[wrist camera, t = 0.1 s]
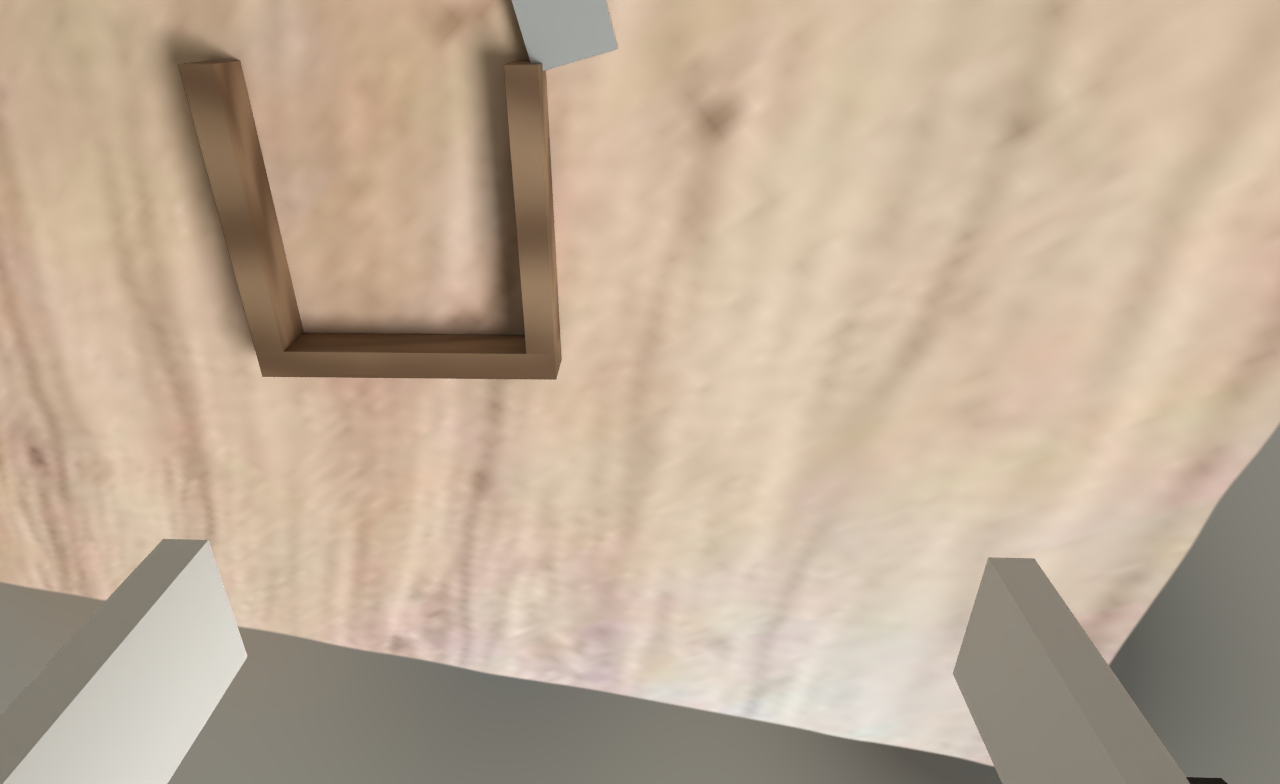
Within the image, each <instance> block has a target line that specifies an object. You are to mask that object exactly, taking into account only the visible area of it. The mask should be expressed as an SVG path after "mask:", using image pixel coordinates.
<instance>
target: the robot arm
mask: <svg viewBox="0 0 1280 784" xmlns="http://www.w3.org/2000/svg"><path fill="white" fill-rule="evenodd" d="M246 658H247V654H246V651H245V648H244V645H243V642H242V639H241V636H240V633H239V630H238V627H237V624H236V621H235V618H234V615H233V612H232V609H231V606H230V603H229V600H228V597H227V594H226V591H225V588H224V585H223V582H222V579H221V576H220V573H219V571H218V568H217V565H216V562H215V559H214V556H213V553H212V550H211V547H210V544H209V541H208V540H181V539H163V540H162V541H161V542H160V543H159V544H158V545H157V546H156V547H155V549H154V550H153V551H152V552H151V553H150V554H149V555H148V556H147V557H146V558H145V559H144V560H143V561H142V562H141V564H140V565H139V566H138V567H137V568H136V569H135V570H134V571H133V572H132V573H131V574H130V575H129V576H128V578H127V579H126V580H125V581H124V582H123V583H122V584H121V585H120V586H119V587H118V588H117V589H116V590H115V592H114V593H113V594H112V595H111V596H110V597H109V598H108V599H107V600H106V601H105V602H104V604H103V605H101V607H100V608H99V609H98V610H97V611H96V612H95V613H94V614H93V615H92V616H91V617H90V618H89V620H88V621H87V622H86V623H85V624H84V625H83V626H82V627H81V628H80V629H79V630H78V631H77V633H75V635H74V636H73V637H72V638H71V639H70V640H69V641H68V642H67V643H66V644H65V645H64V646H63V648H61V650H60V651H59V652H58V653H57V654H56V655H55V656H54V657H53V658H52V659H51V660H50V662H48V664H47V665H46V666H45V667H44V668H43V669H42V670H41V671H40V672H39V673H38V674H37V676H35V678H34V679H33V680H32V681H31V682H30V683H29V684H28V685H27V686H26V687H25V688H24V689H23V690H22V692H21V693H20V694H19V695H18V696H17V697H16V698H15V699H14V700H13V701H12V702H11V704H9V705H8V707H7V708H6V709H5V710H4V711H3V712H2V713H1V714H0V784H167V783H168V782H169V780H170V778H171V777H172V775H173V774H174V772H175V771H176V769H177V767H178V766H179V764H180V762H181V761H182V759H183V758H184V756H185V754H186V753H187V751H188V750H189V748H190V747H191V745H192V744H193V742H194V740H195V739H196V737H197V735H198V734H199V732H200V731H201V729H202V728H203V726H204V725H205V723H206V721H207V719H208V718H209V717H210V715H211V713H212V712H213V710H214V709H215V707H216V706H217V703H218V702H219V701H220V699H221V697H222V696H223V694H224V693H225V691H226V690H227V688H228V686H229V685H230V683H231V682H232V680H233V679H234V677H235V675H236V674H237V672H238V671H239V669H240V668H241V666H242V664H243V663H244V661H245V660H246ZM953 675H954V677H955V679H956V681H957V684H958V686H959V688H960V690H961V693H962V695H963V697H964V699H965V702H966V704H967V706H968V708H969V710H970V713H971V715H972V717H973V719H974V722H975V724H976V726H977V728H978V730H979V733H980V735H981V737H982V739H983V742H984V744H985V746H986V748H987V750H988V753H989V755H990V757H991V759H992V762H993V764H994V766H995V768H996V770H997V773H998V775H999V777H1000V779H1001V782H1002V784H1227V783H1226V782H1225V781H1224V780H1223V779H1222V778H1193V777H1185V776H1184V774H1183V773H1182V771H1181V770H1180V768H1179V767H1178V765H1177V764H1176V762H1175V761H1174V760H1173V758H1172V757H1171V755H1170V754H1169V752H1168V751H1167V749H1166V748H1165V747H1164V745H1163V744H1162V743H1161V741H1160V739H1159V738H1158V736H1157V735H1156V734H1155V732H1154V731H1153V730H1152V728H1151V727H1150V725H1149V723H1148V722H1147V721H1146V719H1145V718H1144V716H1143V715H1142V713H1141V712H1140V711H1139V709H1138V708H1137V706H1136V705H1135V703H1134V702H1133V701H1132V699H1131V698H1130V696H1129V695H1128V693H1127V692H1126V690H1125V689H1124V687H1123V686H1122V684H1121V683H1120V682H1119V680H1118V679H1117V677H1116V676H1115V674H1114V673H1113V671H1112V670H1111V669H1110V667H1109V666H1108V664H1107V663H1106V661H1105V660H1104V658H1103V657H1102V656H1101V654H1100V653H1099V651H1098V650H1097V648H1096V647H1095V645H1094V644H1093V643H1092V641H1091V640H1090V638H1089V637H1088V635H1087V634H1086V632H1085V631H1084V630H1083V628H1082V627H1081V625H1080V624H1079V622H1078V621H1077V619H1076V618H1075V617H1074V615H1073V614H1072V612H1071V611H1070V609H1069V608H1068V606H1067V605H1066V604H1065V602H1064V601H1063V599H1062V598H1061V596H1060V595H1059V593H1058V592H1057V591H1056V589H1055V588H1054V586H1053V585H1052V583H1051V582H1050V580H1049V579H1048V578H1047V576H1046V575H1045V573H1044V572H1043V570H1042V569H1041V567H1040V566H1039V565H1038V563H1037V562H1036V560H1035V559H1029V558H988V560H987V564H986V567H985V570H984V574H983V577H982V580H981V583H980V587H979V590H978V593H977V596H976V600H975V603H974V606H973V609H972V613H971V616H970V619H969V622H968V626H967V629H966V632H965V636H964V639H963V642H962V645H961V649H960V652H959V655H958V658H957V662H956V665H955V668H954V671H953Z"/></svg>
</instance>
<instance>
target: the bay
mask: <svg viewBox="0 0 1280 784" xmlns="http://www.w3.org/2000/svg"><path fill="white" fill-rule="evenodd" d="M178 66H179V70H180V74H181V77H182V81H183V85H184V88H185V92H186V96H187V99H188V103H189V107H190V111H191V114H192V118H193V122H194V125H195V129H196V133H197V136H198V140H199V144H200V147H201V151H202V155H203V159H204V162H205V166H206V170H207V173H208V177H209V181H210V184H211V188H212V192H213V196H214V199H215V203H216V207H217V210H218V214H219V218H220V221H221V225H222V229H223V233H224V236H225V240H226V244H227V247H228V251H229V255H230V258H231V262H232V266H233V270H234V273H235V277H236V281H237V284H238V288H239V292H240V295H241V299H242V303H243V306H244V310H245V314H246V318H247V321H248V325H249V329H250V332H251V336H252V340H253V343H254V347H255V351H256V355H257V358H258V362H259V366H260V369H261V373H262V377H353V378H456V379H556V378H557V374H558V371H559V367H560V363H561V342H560V324H559V305H558V287H557V268H556V250H555V231H554V213H553V194H552V176H551V158H550V139H549V121H548V102H547V84H546V70H545V71H543V65H542V63H531V62H511V63H508V64H505V65H504V75H505V88H506V100H507V113H508V126H509V138H510V151H511V164H512V177H513V189H514V202H515V215H516V227H517V240H518V253H519V265H520V278H521V291H522V303H523V316H524V329H525V335H443V334H330V333H303V328H302V324H301V320H300V315H299V311H298V307H297V303H296V298H295V294H294V290H293V285H292V281H291V277H290V273H289V268H288V264H287V260H286V255H285V251H284V247H283V243H282V238H281V234H280V230H279V225H278V221H277V217H276V213H275V208H274V204H273V200H272V195H271V191H270V187H269V183H268V178H267V174H266V170H265V165H264V161H263V157H262V153H261V148H260V144H259V140H258V135H257V131H256V127H255V123H254V118H253V114H252V110H251V105H250V101H249V97H248V93H247V88H246V84H245V80H244V75H243V71H242V67H241V63H240V61H202V62H193V63H184V64H178Z"/></svg>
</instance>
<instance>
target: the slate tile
mask: <svg viewBox="0 0 1280 784" xmlns="http://www.w3.org/2000/svg"><path fill="white" fill-rule="evenodd" d="M512 3H513V7H514V10H515V13H516V16H517V20H518V23H519V26H520V30H521V33H522V36H523V39H524V43H525V46H526V49H527V52H528V56H529V59H530V62H531V63H542V65H543V71H545V70H548V69H552V68H555V67H558V66H562V65H565V64H569V63H572V62H575V61H579V60H582V59H586V58H589V57H592V56H596V55H599V54H603V53H606V52H609V51H613V50H616V49H618V45H617V41H616V37H615V33H614V29H613V25H612V21H611V17H610V13H609V9H608V5H607V1H606V0H512Z"/></svg>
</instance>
